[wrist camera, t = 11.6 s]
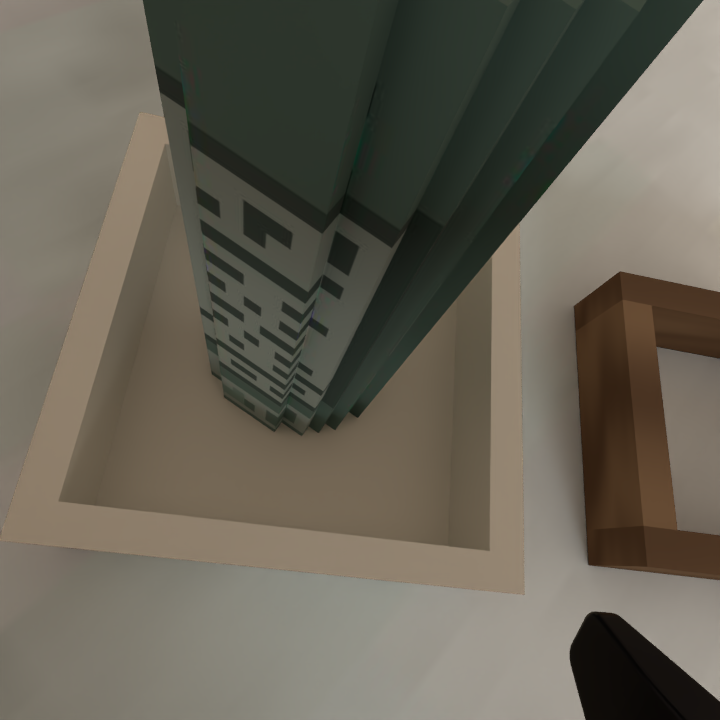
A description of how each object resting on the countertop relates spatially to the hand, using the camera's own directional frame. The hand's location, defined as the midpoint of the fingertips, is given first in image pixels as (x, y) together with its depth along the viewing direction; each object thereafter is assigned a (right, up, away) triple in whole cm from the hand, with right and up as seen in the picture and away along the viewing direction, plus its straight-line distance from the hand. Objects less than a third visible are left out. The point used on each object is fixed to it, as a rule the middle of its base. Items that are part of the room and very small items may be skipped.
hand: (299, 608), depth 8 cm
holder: (+15, 0, +14) cm, 20 cm away
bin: (-1, +3, +11) cm, 12 cm away
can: (-1, +4, +11) cm, 12 cm away
